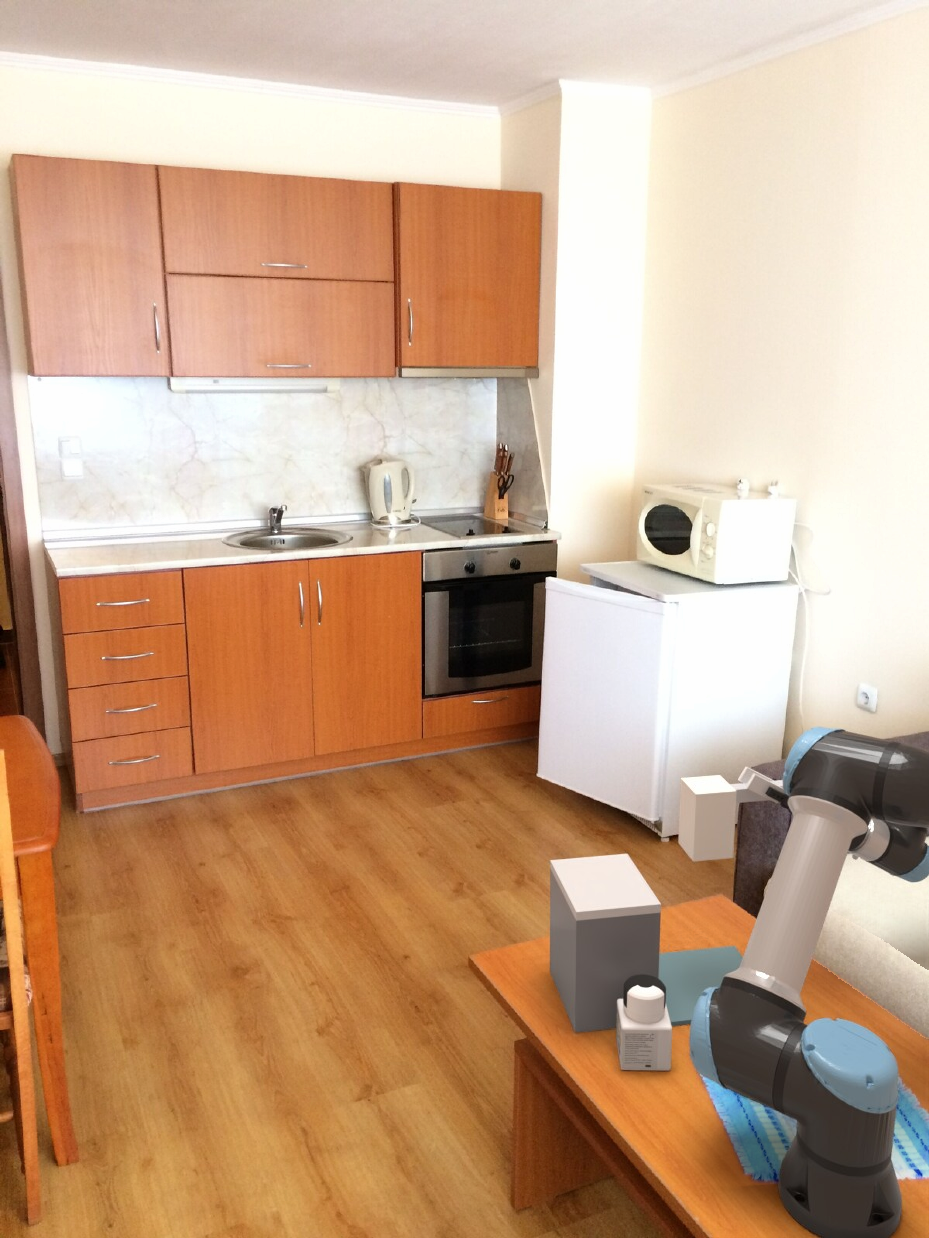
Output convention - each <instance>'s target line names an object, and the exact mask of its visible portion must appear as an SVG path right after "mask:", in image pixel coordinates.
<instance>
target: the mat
mask: <svg viewBox="0 0 929 1238" xmlns="http://www.w3.org/2000/svg"><path fill="white" fill-rule="evenodd" d="M743 956H744V955H742V954H741V952H740V951H739V949H737V947H736V946H735V945H727V946H719V947H708V948H698V949H687V950H680V951H679V950H677V951H670V952H659V979H660V980H661V981H662V982H663V983H664V985H665V987H666V1006H667V1010H668V1014H669V1018H670V1022H671V1026H672V1027H675V1026H676V1027H677V1026H685V1025H687V1026H688V1025H691V1021H692V1016H693V1012H694V1008H695V1006H696V1003H697V1001H698V999H699V997H700V996H702V992H703V991H704V990H705V989H707V988H709V987H718V988H720V986H721V983H722V980H723V977H724V975H726V974H728V973H730V972H733V971H735V970H737V969H738V968H739V967H740V964H741V961H742V959H743Z"/></svg>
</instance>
